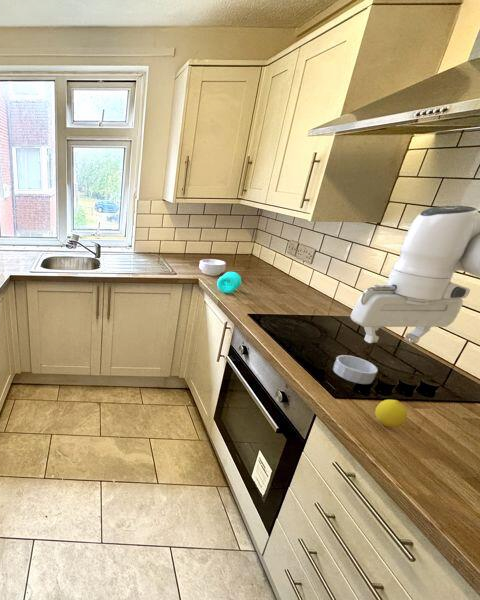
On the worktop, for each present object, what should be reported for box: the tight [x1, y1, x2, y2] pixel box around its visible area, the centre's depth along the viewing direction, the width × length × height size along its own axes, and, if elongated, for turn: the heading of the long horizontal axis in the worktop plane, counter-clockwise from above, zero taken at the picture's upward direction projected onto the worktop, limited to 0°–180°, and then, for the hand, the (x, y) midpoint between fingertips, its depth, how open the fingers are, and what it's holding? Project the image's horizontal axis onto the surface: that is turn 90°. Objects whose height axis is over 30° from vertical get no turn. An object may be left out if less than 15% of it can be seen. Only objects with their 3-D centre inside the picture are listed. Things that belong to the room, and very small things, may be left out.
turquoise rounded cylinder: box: [216, 271, 242, 294], centre depth 168 cm, size 10×10×10 cm
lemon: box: [374, 399, 408, 428], centre depth 79 cm, size 6×6×8 cm
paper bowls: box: [198, 258, 227, 277], centre depth 197 cm, size 15×15×8 cm
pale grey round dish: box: [332, 354, 379, 385], centre depth 100 cm, size 10×10×4 cm
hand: (390, 341), depth 72 cm, fingers open, 8 cm apart
